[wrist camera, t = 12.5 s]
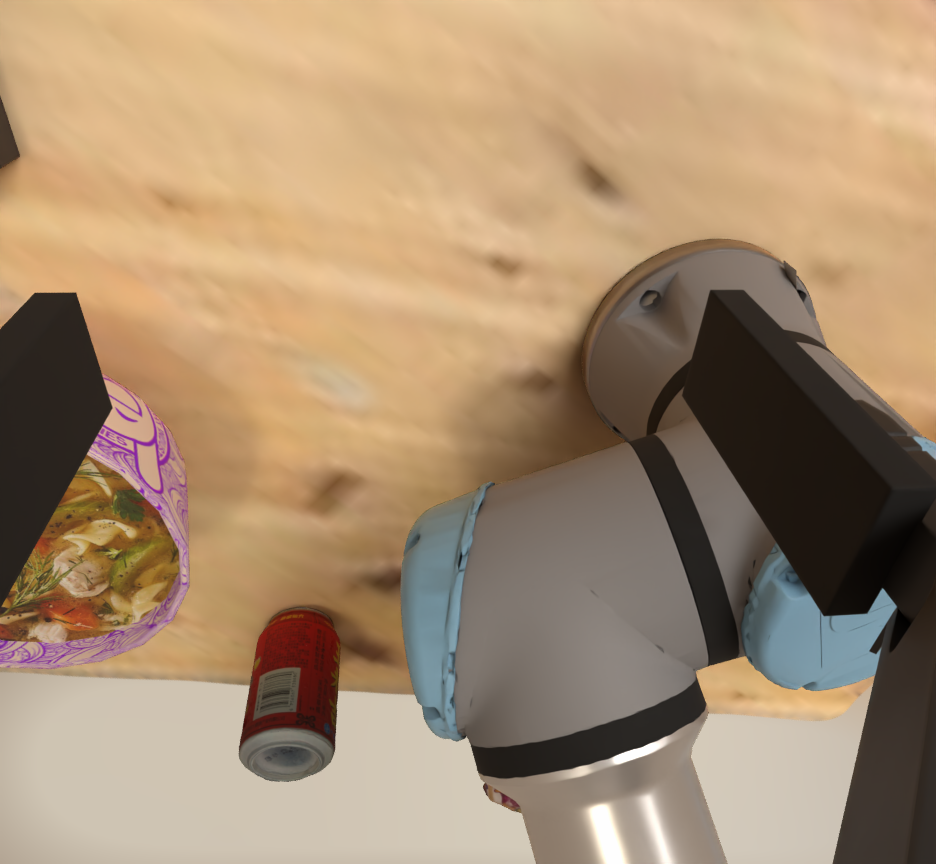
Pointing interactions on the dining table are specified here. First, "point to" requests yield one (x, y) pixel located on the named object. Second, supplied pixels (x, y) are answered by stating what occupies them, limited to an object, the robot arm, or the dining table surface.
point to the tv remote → (6, 140)
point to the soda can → (292, 697)
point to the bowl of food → (105, 550)
